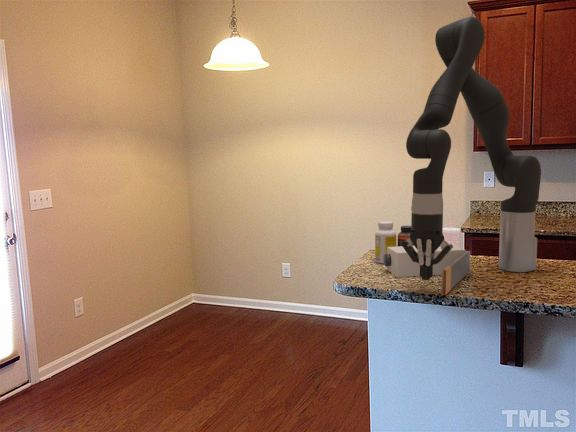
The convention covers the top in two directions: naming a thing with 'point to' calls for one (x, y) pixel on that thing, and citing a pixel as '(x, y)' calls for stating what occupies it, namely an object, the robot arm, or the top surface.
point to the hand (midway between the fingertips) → (425, 279)
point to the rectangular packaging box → (405, 267)
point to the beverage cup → (451, 234)
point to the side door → (455, 272)
